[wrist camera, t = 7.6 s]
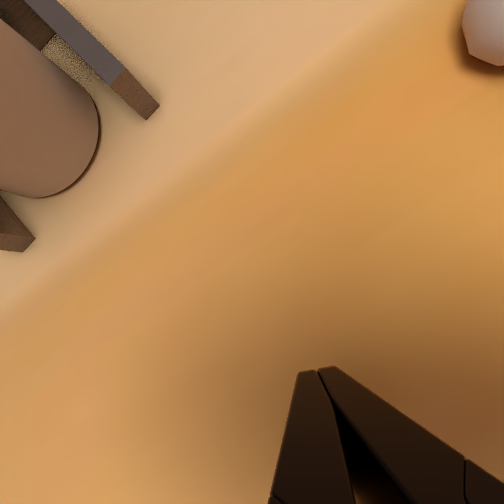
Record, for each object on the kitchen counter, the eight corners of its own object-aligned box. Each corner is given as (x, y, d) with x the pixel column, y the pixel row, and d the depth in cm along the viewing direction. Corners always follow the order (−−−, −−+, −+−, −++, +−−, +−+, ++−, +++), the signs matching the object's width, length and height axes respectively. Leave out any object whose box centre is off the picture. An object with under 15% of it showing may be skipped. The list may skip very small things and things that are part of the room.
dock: (159, 105, 23) (125, 67, 19) (22, 252, 24) (-38, 245, 20) (58, 6, 25) (8, -47, 21) (-66, 145, 26) (-136, 120, 22)
